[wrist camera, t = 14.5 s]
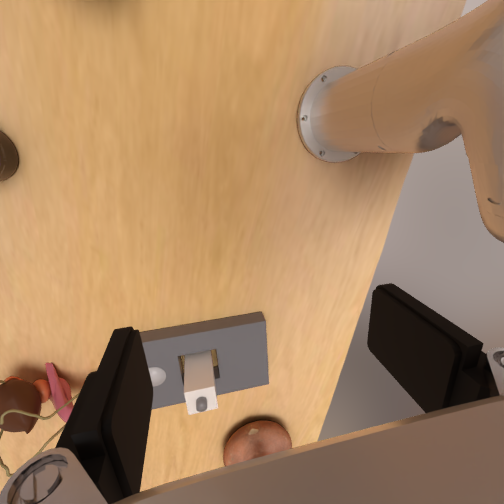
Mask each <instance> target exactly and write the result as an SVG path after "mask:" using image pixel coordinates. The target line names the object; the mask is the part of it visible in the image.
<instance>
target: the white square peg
mask: <svg viewBox="0 0 504 504" xmlns="http://www.w3.org/2000/svg"><path fill="white" fill-rule="evenodd" d="M184 395H185V400H186V405H187V409H188V414H189V415H191V414H195V413H199V412H204V411H208V410H212V409H216V408H218V404H217V395H216V386H215V377H214V368H213V360H212V354H211V350H208V351H202V352H197V353H192V354H186V355H185V369H184Z"/></svg>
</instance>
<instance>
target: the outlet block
mask: <svg viewBox="0 0 504 504" xmlns="http://www.w3.org/2000/svg"><path fill="white" fill-rule="evenodd" d="M140 336H141V340H142V344H143V348H144V352H145V356H146V360H147V365H148V369H149V373H150V377H151V381H152V385H153V402H152V409H156V408H161V407H165V406H170V405H175V404H179V403H184V402H186V400H185V395H184V372H183V367H182V362H181V357H180V356H181V355H186V354H192V353H197V352H202V351H208V350H213V349H216V351H217V359H218V366H216V367H213V368H214V377H215V386H216V395H221V394H225V393H230V392H234V391H239V390H243V389H248V388H253V387H257V386H262V385H266V384H269V376H268V356H267V336H266V320H265V318H264V316H263V314H262V312H256V313H250V314H244V315H238V316H232V317H226V318H221V319H215V320H209V321H203V322H197V323H191V324H185V325H180V326H174V327H168V328H162V329H156V330H150V331H144V332H140ZM152 409H151V410H152Z"/></svg>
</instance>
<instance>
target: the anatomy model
mask: <svg viewBox="0 0 504 504" xmlns="http://www.w3.org/2000/svg"><path fill="white" fill-rule="evenodd" d="M45 365H46V371H47V375H48V379H49V382H48V381H46V380H43V379H39V380H36V381H35V382H34V383H33V384H31V383H29V382H27V381H26V380H23V379H19V378H18V377H12V376H10V377H8V378H6V379H5V380H4V381H3V380H0V383H3V384H1V385H0V428H1V432H0V438H1V436H2V433H3V431H9V432H22V431H25V432H26V433H27V434H28V433H29V432H30V431H31V430H32V429H33V427H34V425H35V424H36V422H37V420H38V418H39V419H42V420H46V419H49V418H51V417H53V416H54V415H55V414H56V413H58V415H59V417H60V418H61V419H62V420H63V421H64V422H66V423H67V421H68V418H69V416H70V414H71V412H72V409H73V407H74V405H73V403H72V401H73V400H74V399H75V398H77V397H78V396H79V394H80V393H79V394H77V395H76V396H75V397H73V398H72V397H71V389H70V386H69V384H68V382H67V381H66V380H64V379H63V378H58V375H57V373H56V370H55V368H54V366H53V364H52V363H46V364H45ZM48 399H50V400H51V401H52V403H53V405H54V407H55V409H56V411H55V412H54V413H53V414H52V415H50V416H48V417H42V416H40V411H41V403H44V402H46V401H47V400H48ZM65 425H66V424H65ZM65 425H64V426H63V427H62V428H61V429H60V430H59V431H58V432H57V433H56V434H54V435H53V436H52V437H51V438H50V439H49V440H48V441H47V442H46V443H45V444H44V445H43V447H42V448H41V449H40V451H39V452H38V453H37V454H36V455H38V454H40V453H41V452H42V450H43V449H44V448H45V447H46V445H47V444H48V443H49V442H50V441H51V440H52V439H53V438H54V437H55V436H57V435H58V434H59V433H60V432H61V431H62V430H63V429H64V427H65ZM36 455H35V456H36ZM35 456H34V457H35ZM0 465H1V467H3V468H4V469H5V470H6V474H7V476H8V477H11V476H12V475H13V474H14V473H13V474H10V473H9V468H8V467H7V466H6V465H4V464H3V461H2V459H1V457H0Z"/></svg>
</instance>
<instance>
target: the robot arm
mask: <svg viewBox="0 0 504 504" xmlns="http://www.w3.org/2000/svg"><path fill="white" fill-rule="evenodd" d="M321 78H322V79H323V82H322V81H321ZM302 117H303V118H304V120H303V121H302ZM297 124H298V131H299V134H300V138H301V140H302V142H303V144H304V146H305V147H306V148H307V150H308V151H309V152H310V153H311V154H312V155H314V156H315V157H316V158H318V159H320V160H323V161H327V162H334V163H335V162H344V161H347V160H350V159H352V158H354V157H356V156H357V155H358V154H360V153H361V152H382V153H422V152H427V151H432V150H435V149H437V148H440V147H442V146H444V145H446V144H448V143H449V142H451V141H452V140H454V139H455V138H457V137H458V136H459V135H461V134H462V137H463V140H464V145H465V150H466V154H467V156H468V158H469V163H470V168H471V173H472V178H473V183H474V188H475V193H476V198H477V203H478V207H479V212H480V215H481V218H482V221H483V223H484V225H485V227H486V228H487V230H488V231H489V232H490V233H491V234H492V235H493V236H494V237H495V238H496V239H498V240H499V241H501V242H503V243H504V0H488V1H486V2H485V3H483V4H482V5H480V6H479V7H477V8H475V9H474V10H472V11H471V12H469V13H467V14H466V15H464V16H463V17H461V18H459V19H458V20H456V21H454V22H453V23H451V24H449V25H447V26H445V27H444V28H442V29H440V30H438V31H436V32H434V33H432V34H430V35H428V36H426V37H424V38H422V39H420V40H418V41H416V42H414V43H412V44H410V45H408V46H406V47H404V48H402V49H399V50H397V51H395V52H393V53H391V54H389V55H387V56H385V57H382V58H380V59H378V60H376V61H374V62H372V63H370V64H368V65H366V66H364V67H361V68H359V69H356V68H354V67H350V66H337V67H333V68H330V69H328V70H326V71H324V72H322V73H321V74H319V75H318V76H317V77H316V78H314V79H313V80H312V82H311V83H310V84H309V85H308V86H307V88H306V90H305V91H304V93H303V95H302V98H301V100H300V103H299V108H298V115H297ZM319 152H321V154H319ZM367 344H368V347H369V350H370V351H371V352H372V353H373V354H374V355H375V357H376V358H377V359H378V360H379V361H380V362H381V363H382V365H383V366H384V367H385V368H386V369H387V370H388V371H389V372H390V373H391V375H392V376H393V377H394V378H395V379H396V380H397V381H398V382H399V384H400V385H401V386H402V387H403V388H404V389H405V390H406V391H407V392H408V394H409V395H410V396H411V397H412V398H413V399H414V400H415V401H416V403H417V404H418V405H419V406H420V407H421V408H422V409H423V410H424V411H425V414H421V415H418V416H414V417H410V418H406V419H402V420H398V421H394V422H390V423H386V424H382V425H379V426H375V427H371V428H367V429H364V430H360V431H356V432H352V433H348V434H345V435H340V436H337V437H333V438H330V439H325V440H322V441H318V442H314V443H310V444H306V445H303V446H299V447H295V448H291V449H288V450H284V451H280V452H277V453H273V454H269V455H266V456H262V457H258V458H254V459H251V460H247V461H243V462H240V463H236V464H232V465H228V466H225V467H221V468H218V469H214V470H211V471H207V472H204V473H200V474H197V475H193V476H190V477H186V478H183V479H180V480H176V481H173V482H169V483H166V484H163V485H160V486H157V487H154V488H151V489H148V490H145V491H142V492H140V486H141V479H142V472H143V465H144V458H145V451H146V444H147V437H148V430H149V423H150V416H151V409H152V402H153V385H152V381H151V377H150V373H149V369H148V365H147V360H146V356H145V352H144V348H143V344H142V340H141V336H140V332H139V330H134V329H133V327H126V328H120V329H115V330H114V331H113V334H112V336H111V338H110V341H109V343H108V346H107V348H106V351H105V353H104V355H103V358H102V360H101V363H100V365H99V367H98V370H97V371H95V372H91V373H90V374H89V375H88V376H87V378H86V380H85V383H84V385H83V387H82V389H81V391H80V394H79V396H78V398H77V400H76V403H75V405H74V407H73V409H72V412H71V414H70V416H69V418H68V421H67V423H66V425H65V427H64V430H63V432H62V434H61V436H60V439H59V441H58V443H57V445H56V447H55V448H54V449H49V450H47V451H44V452H42V453H40V454H38V455H36V456H35V457H33V458H31V459H30V460H28V461H27V462H26V463H25V464H24V465H22V466H21V467H20V468H19V469H18V470H17V471H16V472H15V473H14V474H13V475H12V476H11V478H10V479H9V480H8V481H7V483H6V485H5V486H4V488H3V490H2V491H1V494H0V504H504V348H493V349H490V350H489V351H488V352H487V354H485V353H484V352H482V351H481V350H482V347H483V343H482V342H480V341H479V340H477V339H476V338H474V337H473V336H471V335H470V334H468V333H467V332H465V331H464V330H462V329H461V328H459V327H458V326H456V325H455V324H453V323H452V322H450V321H449V320H447V319H446V318H444V317H442V316H441V315H440V314H438V313H436V312H435V311H434V310H432V309H430V308H429V307H427V306H426V305H424V304H423V303H421V302H420V301H418V300H417V299H415V298H414V297H412V296H411V295H409V294H408V293H406V292H405V291H403V290H402V289H400V288H399V287H397V286H396V285H394V284H384V285H379V286H377V287H376V289H375V290H374V291H373V295H372V304H371V314H370V323H369V332H368V342H367Z"/></svg>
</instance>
